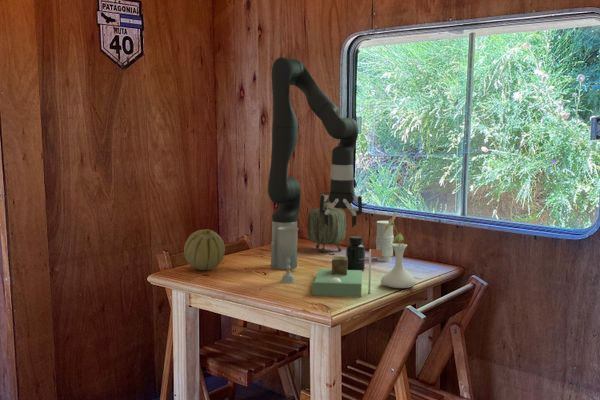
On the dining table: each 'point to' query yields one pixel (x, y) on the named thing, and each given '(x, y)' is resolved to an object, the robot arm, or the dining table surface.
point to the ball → (335, 280)
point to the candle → (384, 241)
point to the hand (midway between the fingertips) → (340, 226)
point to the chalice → (288, 249)
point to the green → (337, 283)
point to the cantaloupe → (204, 249)
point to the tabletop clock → (326, 233)
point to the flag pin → (371, 254)
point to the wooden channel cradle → (339, 265)
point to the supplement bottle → (355, 253)
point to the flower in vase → (397, 264)
